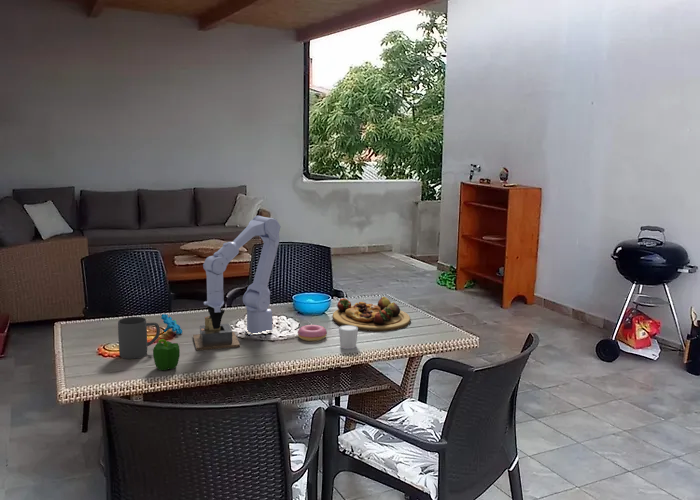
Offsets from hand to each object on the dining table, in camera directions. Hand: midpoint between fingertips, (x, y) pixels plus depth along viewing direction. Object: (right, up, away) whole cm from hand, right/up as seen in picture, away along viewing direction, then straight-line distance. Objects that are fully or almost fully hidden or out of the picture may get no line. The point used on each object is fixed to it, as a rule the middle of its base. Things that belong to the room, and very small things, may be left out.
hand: (215, 326), depth 233 cm
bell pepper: (-11, -11, -25) cm, 29 cm away
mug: (-23, -8, -12) cm, 27 cm away
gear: (-18, -4, +10) cm, 21 cm away
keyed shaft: (-1, -3, 0) cm, 3 cm away
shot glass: (+48, -7, 0) cm, 48 cm away
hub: (0, -6, +1) cm, 6 cm away
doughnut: (+34, -5, +9) cm, 36 cm away
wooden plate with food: (+57, -2, +33) cm, 66 cm away
